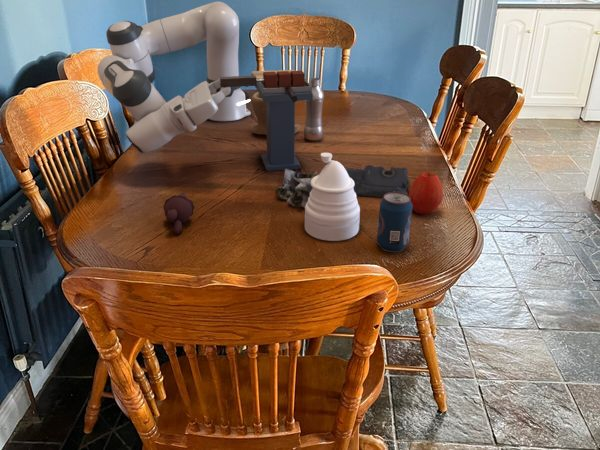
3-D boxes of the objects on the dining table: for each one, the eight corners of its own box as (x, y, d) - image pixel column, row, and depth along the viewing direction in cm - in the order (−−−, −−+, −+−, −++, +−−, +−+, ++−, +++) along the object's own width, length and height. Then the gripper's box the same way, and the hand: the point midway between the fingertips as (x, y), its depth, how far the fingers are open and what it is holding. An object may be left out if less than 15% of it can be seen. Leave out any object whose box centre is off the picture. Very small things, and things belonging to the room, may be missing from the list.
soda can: (376, 237, 131) (380, 189, 125) (406, 239, 130) (412, 191, 124) (376, 252, 124) (381, 203, 119) (408, 254, 124) (414, 205, 118)
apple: (446, 216, 140) (452, 176, 135) (416, 220, 138) (421, 179, 133) (430, 202, 147) (436, 163, 142) (401, 206, 145) (406, 166, 140)
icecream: (164, 184, 140) (151, 216, 127) (193, 177, 139) (183, 209, 126) (174, 207, 144) (163, 241, 131) (202, 201, 143) (193, 235, 130)
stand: (253, 150, 179) (251, 73, 168) (293, 148, 182) (294, 72, 170) (265, 181, 158) (263, 95, 147) (310, 177, 161) (312, 93, 150)
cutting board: (251, 74, 167) (251, 71, 166) (295, 73, 169) (295, 69, 169) (256, 83, 158) (256, 79, 158) (302, 81, 161) (302, 77, 160)
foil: (329, 176, 153) (320, 165, 139) (321, 215, 153) (312, 208, 138) (287, 169, 156) (275, 157, 141) (279, 208, 155) (266, 200, 140)
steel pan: (257, 84, 157) (256, 77, 157) (302, 82, 160) (303, 75, 159) (268, 104, 140) (268, 96, 139) (320, 101, 143) (320, 94, 142)
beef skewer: (219, 87, 152) (219, 73, 150) (304, 83, 156) (304, 70, 155) (221, 90, 149) (220, 76, 147) (307, 86, 153) (307, 73, 152)
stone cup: (246, 138, 190) (244, 93, 183) (258, 127, 200) (257, 84, 193) (289, 142, 186) (290, 97, 179) (300, 131, 196) (300, 88, 189)
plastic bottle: (323, 136, 192) (325, 76, 182) (322, 143, 186) (324, 81, 177) (304, 135, 192) (305, 76, 183) (302, 142, 186) (303, 81, 177)
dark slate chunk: (329, 171, 165) (330, 156, 162) (406, 176, 162) (408, 161, 160) (324, 193, 151) (325, 177, 149) (408, 199, 149) (410, 182, 146)
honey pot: (296, 234, 131) (297, 161, 123) (315, 211, 142) (316, 142, 133) (350, 245, 127) (354, 170, 119) (365, 220, 138) (370, 150, 129)
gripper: (188, 111, 162) (229, 85, 161) (191, 134, 144) (237, 105, 143) (175, 92, 159) (216, 65, 158) (177, 114, 141) (224, 84, 140)
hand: (226, 84), depth 150 cm, fingers open, 8 cm apart
